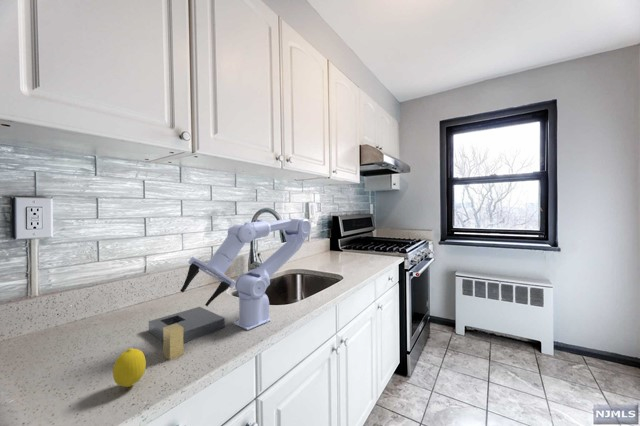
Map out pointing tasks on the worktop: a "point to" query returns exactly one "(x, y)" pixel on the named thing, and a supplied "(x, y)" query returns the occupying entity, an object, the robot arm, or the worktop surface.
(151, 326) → the peg hole base
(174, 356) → the tan wooden block
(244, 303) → the robot arm
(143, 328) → the worktop surface
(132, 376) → the lemon
